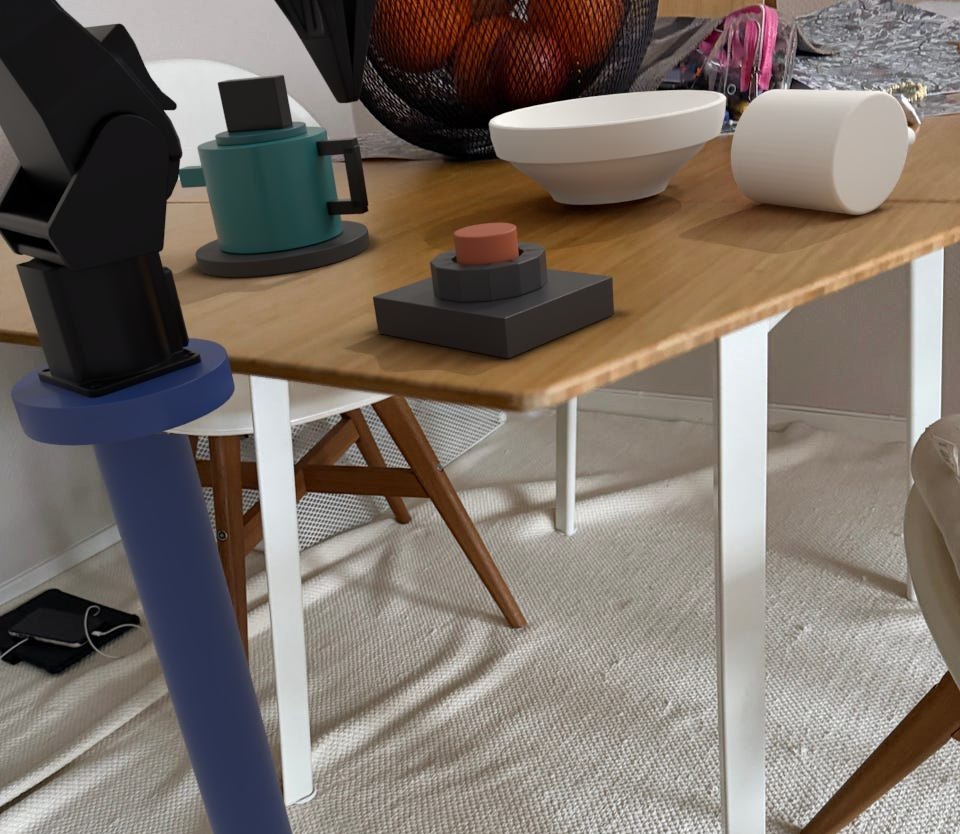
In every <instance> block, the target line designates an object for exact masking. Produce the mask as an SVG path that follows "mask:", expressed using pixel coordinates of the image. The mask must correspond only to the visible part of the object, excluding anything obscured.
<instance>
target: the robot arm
mask: <svg viewBox="0 0 960 834" xmlns="http://www.w3.org/2000/svg"><path fill="white" fill-rule="evenodd" d="M273 1H274V2H275V4H276V5H277V7H278V8H279V9H280V11H281V12H282V13H283V15H284V16H285V18H286V20H287V21H288V22H289V24H290V25H291V27H293V30H294V32H295V33H296V35H297V36H298V38H299V40H300V41H301V42H302V44H303V47H304V48H305V49H306V51H307V53H308V55H309V57H310V58H311V61H313V64H314V65H315V66H316V68H317V70H318V72H319V74H320V75H321V77H322V78H323V81H324V82H325V84H326V85H327V87H328V89H329V91H330V93H331V94H332V96H333V97H334V99H335V101H336V102H337V103H338V104H351V103H355V102H356V103H357V102H358V101H359V100H360V98H361V93H362V86H363V80H364V73H365V67H366V61H367V55H368V49H369V43H370V38H371V31H372V25H373V19H374V15H375V10H376V7H377V2H378V0H273ZM177 108H178V104H177V102H176V101H175V100H173V99H172V98H171V97H170V96H168V95H167V94H166V93H165V92H164V91H162V90H161V88H160V87H159V85H157V83H156V81H154V80H153V78H152V77H151V75H150V72H149V71H148V68H147V67H146V65H145V62H144V60H143V58H142V56H141V53H140V51H139V49H138V46H137V44H136V42H135V40H134V39H133V37H132V36H131V34H130V32H129V31H128V30H127V28H126V27H125V25H124V24H122V23H111V24H104V25H103V24H102V25H93V26H84V25H82V24H81V23H80V22H79V21H78V20H77V19H76V18H74V16H72V15H71V14H70V13H69V12H68V11H67V10H65V8H63V6H62V5H61V4H60V3H59V2H58V1H57V0H0V128H1V130H2V132H3V134H4V136H5V137H6V139H7V141H8V144H9V146H10V147H11V149H12V151H13V152H14V154H15V156H16V158H17V160H18V164H17V165H16V167H15V169H14V171H13V173H12V175H11V177H10V179H9V180H8V183H6V184H7V185H6V186H5V188H4V190H3V192H2V194H1V195H0V236H1V237H2V239H3V240H4V241H5V243H6V244H7V246H8V247H9V248H10V250H11V251H12V253H13V254H16V255H18V256H23V255H24V256H28V257H30V258H32V259H30V260H27V261H24V262H21V263H20V262H19V263H17V264H15V267H16V270H17V273H18V276H19V279H20V283H21V286H22V288H23V292H24V295H25V298H26V302H27V305H28V308H29V311H30V313H31V317H32V320H33V323H34V327H35V329H36V332H37V336H38V338H39V342H40V345H41V348H42V351H43V355H44V358H45V360H46V363H47V364H46V365H48V368H44V369H42V370H39V371H38V372H37V373H38V376H39V379H40V380H41V381H43V382H46V383H49V384H52V385H55V386H58V387H61V388H63V389H66V390H69V391H72V392H75V393H78V394H81V395H83V396H86V397H89V398H97V397H102V396H105V395H108V394H111V393H114V392H116V391H119V390H122V389H125V388H128V387H131V386H134V385H137V384H140V383H143V382H146V381H149V380H151V379H154V378H157V377H160V376H163V375H166V374H169V373H172V372H175V371H178V370H181V369H183V368H186V367H189V366H192V365H195V364H198V363H200V362H201V361H202V360H201V356H200V353H199V352H195V351H192V350H188V349H184V347H187V346H188V344H189V338H190V337H189V334H188V329H187V326H186V322H185V318H184V314H183V310H182V306H181V302H180V298H179V294H178V290H177V287H176V281H175V278H174V275H173V271H172V269H171V268H170V267H167V266H164V265H163V263H162V259H161V254H160V253H161V252H163V250H164V247H165V234H166V233H165V232H166V217H167V205H168V200H169V199H170V198H171V196H173V195H172V194H173V193H174V190H175V187H176V185H177V182H178V180H179V178H180V177H179V169H180V165H181V159H182V157H183V148H182V144H181V139H180V136H179V134H178V132H177V130H176V128H175V126H174V123H173V121H172V119H171V118H170V116H169V115H168V114H167V113H166V112H165V111H176V110H177Z"/></svg>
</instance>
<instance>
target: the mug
mask: <svg viewBox="0 0 960 834" xmlns="http://www.w3.org/2000/svg"><path fill="white" fill-rule="evenodd" d="M915 142H916V133H915V131H914V129H913V128H911V127H910V126H908V120H907V116H906V113H905V111H904V109H903V107H902V105H901V103H900V102H899V101H898V99H897V98H896V97H895V96H893V95H892V94H890V93H888V92H885V91H881V90H845V89H844V90H839V89H835V90H834V89H789V88H787V89H786V88H774V89H769V90H766V91H764V92H762V93H760V94H759V95H757V96H756V97H754V99H753V100H751V101H750V103H749V104H748V105H747V106H746V108H745V109H744V111H743V112H742V114H741V115H740V118H739V119H738V121H737V123H736V127H735V129H734V132H733V136H732V140H731V147H730V168H731V172H732V176H733V180H734V182H735V184H736V186H737V189H738V190H739V191H740V193H741V194H742V195H743V196H744V197H746V198H747V199H748V200H750V201H752V202H754V203H759V204H767V205H774V206H781V207H789V208H798V209H805V210H813V211H820V212H829V213H837V214H844V215H845V214H846V215H852V216H861V215H866V214H868V213H870V212H872V211H874V210H876V209H877V208H878V207H880V206H881V205H882V204H883V203H884V202H885V201H886V200H887V199H888V198H889V196H890V195H891V194H892V192H893V191H894V190H895V188H896V185H897V184H898V182H899V180H900V177H901V175H902V173H903V170H904V167H905V163H906V159H907V154H908V150H909V148H911V147H912V146H913V145H914V144H915Z"/></svg>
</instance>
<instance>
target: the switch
mask: <svg viewBox="0 0 960 834" xmlns="http://www.w3.org/2000/svg"><path fill="white" fill-rule="evenodd" d="M453 241H454V249H455V251H456V259H457V263H458V264H466V265H472V264H489V263H494V262H500V261H506V260H510V259H513V258H516V257H519V252H518V242H519V241H518V231H517V226H516V225H515V224H513V223H510V222H488V223H487V222H486V223H478V224H472V225H468V226H465V227H462V228H459V229H457V230H455V231H454V232H453Z"/></svg>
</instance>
